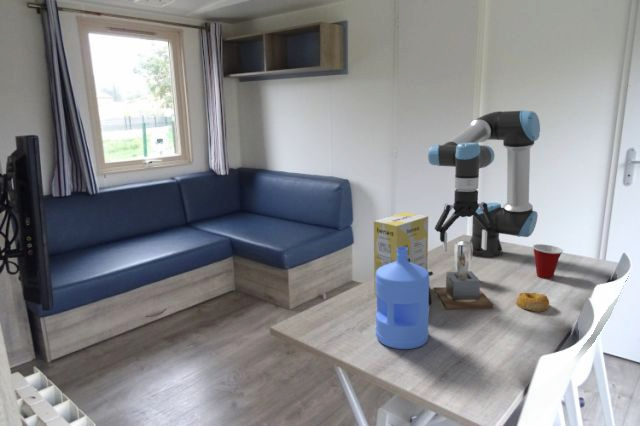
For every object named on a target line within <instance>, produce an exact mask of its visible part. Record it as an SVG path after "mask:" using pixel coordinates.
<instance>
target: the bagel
mask: <svg viewBox="0 0 640 426" xmlns="http://www.w3.org/2000/svg"><path fill="white" fill-rule="evenodd" d="M516 305H517V306H518V307H519V308H521V309H523V310H527V311H531V312H538V313H539V312H543V311H546V310H547V309H548V308H549V305H550V300H549V298H548V296H547V295H546V294H539V293H537V292H521V293H520V294H518V297H517V298H516Z"/></svg>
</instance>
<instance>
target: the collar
mask: <svg viewBox="0 0 640 426" xmlns="http://www.w3.org/2000/svg"><path fill="white" fill-rule="evenodd" d="M459 273H461V272H456V271H447V272H446V274H445V275H446V277H445V278H446V280H445V287H446V291H447V292H448V294H449V295H450V297H451V298H452V300H453V301H455V300H479V292H480V290H481V289H480V287H481V280H480V279H479V278H478V277H477V276H476V275H475V274H474V272H472V271H467V272H465V273H466V274H467V275H468V279H458V275H459Z"/></svg>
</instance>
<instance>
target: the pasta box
mask: <svg viewBox="0 0 640 426" xmlns="http://www.w3.org/2000/svg"><path fill="white" fill-rule="evenodd" d="M428 245H429V216H428V215H424V214H423V215H422V214H417V213H411V212H407V211H405V212H402V213H398V214H394V215H391V216H387V217H384V218H380V219H376V220H373V266H374V267H373V268H374V271H373V275H374V277H373V279H374V280H373V283H374V286H373V287H374V288H373V289H374V290H373V291H374V294H375V295H376V285H375V277H376V271H377V269H378V268H380V267H381V266H384V265H387V264H390V263H393V262H396V261H397V248H398V247H406V248H408V251H407V254H408V262H410V263H413V264H416V265H418V266H421V267H423V268H425V269H426V270H427V271H428V252H429V251H428V249H429V248H428V247H429V246H428Z"/></svg>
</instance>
